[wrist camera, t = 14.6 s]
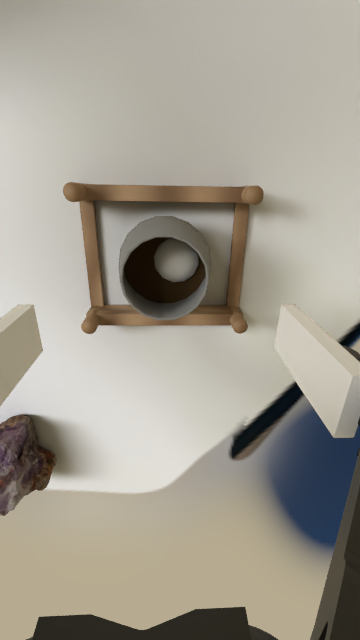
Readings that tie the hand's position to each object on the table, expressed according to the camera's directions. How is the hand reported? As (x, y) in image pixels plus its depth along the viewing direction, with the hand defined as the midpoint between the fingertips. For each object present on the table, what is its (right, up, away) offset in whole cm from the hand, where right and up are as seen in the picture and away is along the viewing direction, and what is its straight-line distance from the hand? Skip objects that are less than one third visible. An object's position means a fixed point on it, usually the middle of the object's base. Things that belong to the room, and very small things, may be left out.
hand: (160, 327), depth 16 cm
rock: (-23, -18, +29) cm, 41 cm away
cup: (-1, +8, +18) cm, 20 cm away
